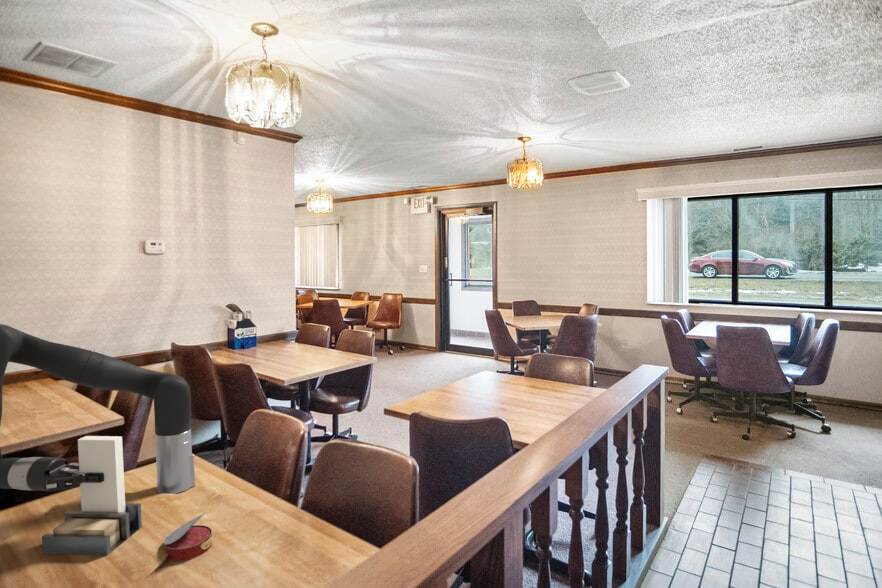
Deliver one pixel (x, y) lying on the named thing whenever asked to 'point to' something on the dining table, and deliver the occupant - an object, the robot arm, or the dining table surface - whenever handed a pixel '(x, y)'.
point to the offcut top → (87, 527)
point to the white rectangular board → (106, 459)
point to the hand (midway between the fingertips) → (107, 474)
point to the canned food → (188, 541)
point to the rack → (94, 543)
